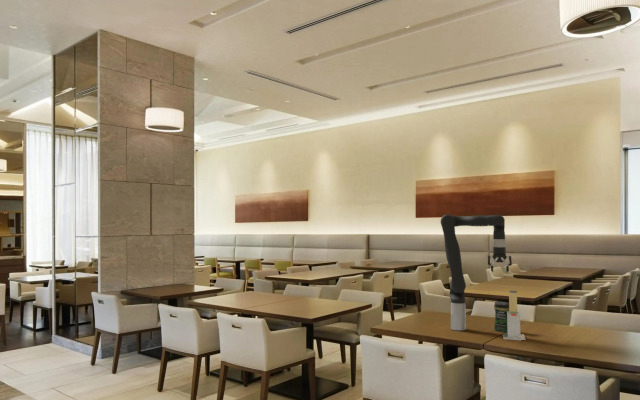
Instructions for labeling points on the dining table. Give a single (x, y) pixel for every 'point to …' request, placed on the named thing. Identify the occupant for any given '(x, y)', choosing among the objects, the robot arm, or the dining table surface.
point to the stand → (513, 327)
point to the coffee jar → (501, 316)
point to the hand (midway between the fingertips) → (499, 272)
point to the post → (513, 301)
